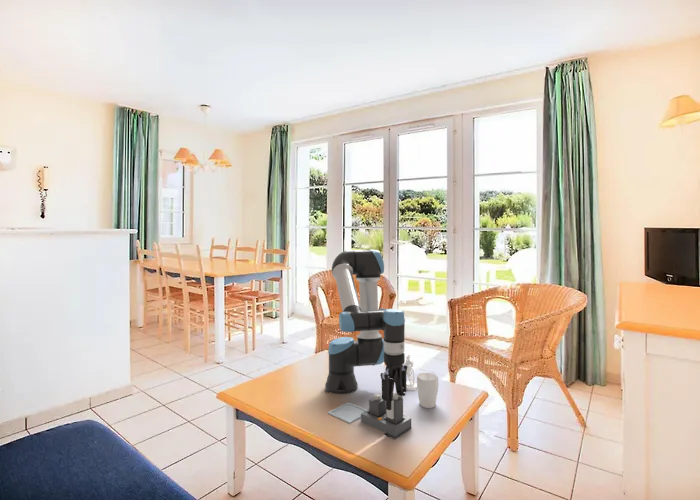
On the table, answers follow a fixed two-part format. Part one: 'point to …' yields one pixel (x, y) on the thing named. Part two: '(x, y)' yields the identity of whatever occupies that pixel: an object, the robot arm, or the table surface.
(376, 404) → the gray block holder
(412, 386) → the figurine
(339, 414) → the tray
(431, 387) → the cup
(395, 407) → the plug
